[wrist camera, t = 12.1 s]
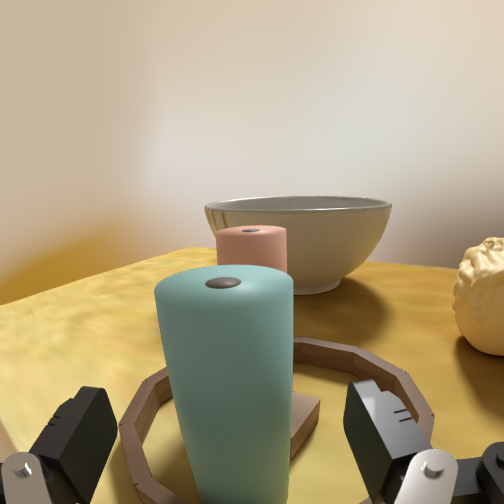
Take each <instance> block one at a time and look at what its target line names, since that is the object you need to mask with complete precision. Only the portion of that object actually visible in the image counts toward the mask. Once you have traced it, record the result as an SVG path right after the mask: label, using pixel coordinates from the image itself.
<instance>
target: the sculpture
mask: <svg viewBox="0 0 504 504" xmlns="http://www.w3.org/2000/svg"><path fill="white" fill-rule="evenodd" d="M453 294H454V296H455V298H456V300H454V302H453V304H452V308H453V310H454V311H455V321H456V324H457V325H458V328H459V331H460V333H461V334H462V335H464V336H465V337H466V339H467V340H468V342H469V343H470V344H471V345H472V346H473V347H474V348H476V349H477V350H479V351H481V352H484V353H487V354H492V355H501V356H504V238H496V237H493V238H487V239H486V240H485V241H484V242H483V243H482V244H481V245H480V246H477V247H472V248H469V249H468V250H467V251H466V252H465V255H464V258H463V261H462V262H461V263H460V265H459V271H458V272H457V275H456V282H455V285H454V290H453Z"/></svg>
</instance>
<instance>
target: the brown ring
mask: <svg viewBox="0 0 504 504" xmlns="http://www.w3.org/2000/svg"><path fill="white" fill-rule="evenodd" d="M359 348H360V347H356V346H350V345H345V344H340V343H334V342H329V341H324V340H319V339H314V338H309V337H305V338H304V337H293V362H304V363H308V364H313V365H317V366H321V367H326V368H331V369H335V370H340V371H345V372H349V373H353V374H354V375H356V376H357V377H359V378H361V379H362V380H368V379H373V380H374V381H375V383H376V385H377V386H378V388H379V389H380V391H381V392H385V391H389V392H391V393H392V394H394V395H395V396H397V397H398V398H400V400H401V401H402V403H403V404H404V405H405V407H406V408H407V411H409V413H410V414H411V416H412V419H414V420H415V422H416V423H417V425H418V426H419V428H420V429H421V431H422V432H423V434H424V435H425V437H426V438H427V440H428V441H429V443H430V440H431V435H432V430H433V424H434V418H435V416H434V413H433V412H432V410H431V408H430V407H429V405H428V404H427V402H426V400H425V399H424V397H423V396H422V394H421V392H420V391H419V389H418V388H417V386H416V385H415V383H414V381H413V380H412V378H411V377H410V375H409V374H408V373H407V372H406V371H404V370H402V369H400V368H398V367H396V366H394V365H393V364H391V363H389V362H387V361H385V360H383V359H381V358H380V357H378V356H376V355H374V354H372V353H370V352H368V351H367V350H365V349H363V348H360V349H359ZM172 396H173V394H172V390H171V385H170V380H169V375H168V370H167V367H165V368H163V369H162V370H160V371H158V372H157V373H155V374H153V375H152V376H150V377H148V378H147V379H145V381H143V382H142V384H141V386H140V387H139V389H138V391H137V392H136V394H135V396H134V398H133V399H132V401H131V403H130V405H129V406H128V408H127V410H126V412H125V413H124V415H123V417H122V419H121V420H120V422H119V426H118V427H119V432H120V436H121V440H122V444H123V448H124V452H125V456H126V460H127V464H128V467H129V471H130V474H131V478H132V481H133V484H134V486H135V488H136V490H137V492H138V494H139V496H140V498H141V499H142V501H143V503H144V504H191V503H189V502H187V501H186V500H184V499H183V498H181V497H179V496H178V495H176V494H175V493H173V492H172V491H170V490H168V489H167V488H165V487H164V486H162V485H161V484H160V483H158V482H157V481H155V480H154V479H153V477H152V474H151V472H150V469H149V466H148V463H147V460H146V457H145V454H144V451H143V448H142V444H143V442H144V440H145V438H146V435H147V433H148V431H149V429H150V426H151V424H152V422H153V420H154V418H155V415H156V413H157V411H158V409H159V406H160V404H162V403H163V402H165V401H166V400H168V399H169V398H171V397H172ZM319 409H320V398H316V397H312V396H308V395H305V394H301V393H297V392H294V391H292V418H291V444H290V459H292V457H293V456H294V455H295V453H296V452H297V450H298V449H299V448H300V446H301V445H302V444H303V442H304V441H305V439H306V438H307V436H308V435H309V434H310V432H311V431H312V429H313V428H314V426H315V425H316V423H317V422H318V419H319ZM359 504H372V502H371V499H370V497H368V498H367V499H365V500H364V501H362V502H361V503H359ZM382 504H385V503H382Z"/></svg>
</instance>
